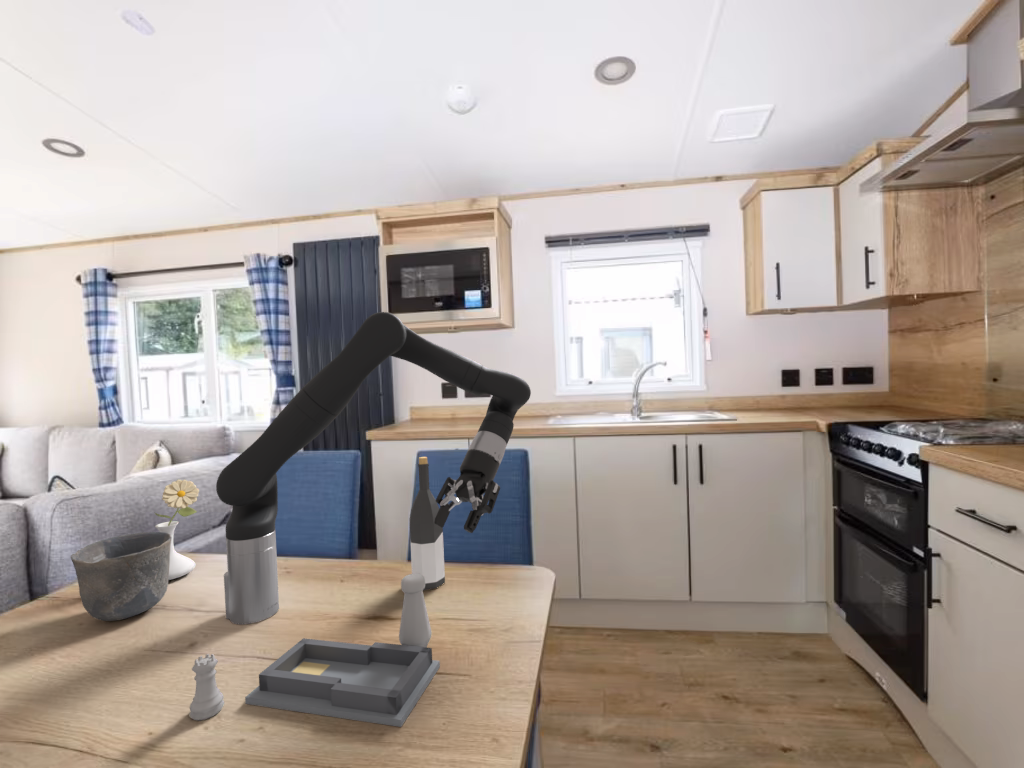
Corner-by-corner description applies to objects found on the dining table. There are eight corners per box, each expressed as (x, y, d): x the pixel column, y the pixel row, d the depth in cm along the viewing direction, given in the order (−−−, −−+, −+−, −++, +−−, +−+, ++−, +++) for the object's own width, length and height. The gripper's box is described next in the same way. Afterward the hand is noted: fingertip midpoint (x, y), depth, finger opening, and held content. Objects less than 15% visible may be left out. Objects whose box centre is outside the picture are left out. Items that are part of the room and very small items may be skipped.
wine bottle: (417, 575, 118) (412, 454, 117) (449, 576, 117) (444, 454, 116) (406, 590, 110) (400, 460, 109) (440, 591, 109) (434, 460, 108)
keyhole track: (439, 666, 80) (439, 646, 80) (401, 726, 66) (400, 702, 66) (305, 651, 86) (305, 632, 86) (245, 703, 73) (244, 681, 73)
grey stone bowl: (53, 625, 100) (49, 554, 100) (144, 589, 116) (141, 528, 116) (104, 640, 93) (100, 564, 93) (193, 599, 109) (190, 535, 109)
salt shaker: (424, 658, 82) (421, 584, 82) (394, 656, 84) (390, 582, 83) (436, 640, 88) (433, 570, 88) (407, 638, 89) (404, 569, 89)
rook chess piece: (200, 702, 73) (197, 651, 73) (230, 699, 74) (227, 648, 74) (182, 723, 69) (179, 669, 69) (214, 720, 69) (212, 666, 69)
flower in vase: (137, 590, 116) (131, 488, 116) (147, 574, 126) (142, 480, 126) (200, 578, 122) (195, 480, 122) (205, 563, 132) (201, 473, 132)
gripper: (450, 447, 104) (416, 516, 96) (498, 448, 95) (466, 524, 87) (470, 465, 109) (440, 532, 100) (519, 467, 99) (489, 541, 91)
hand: (452, 528), depth 94 cm, fingers open, 8 cm apart
